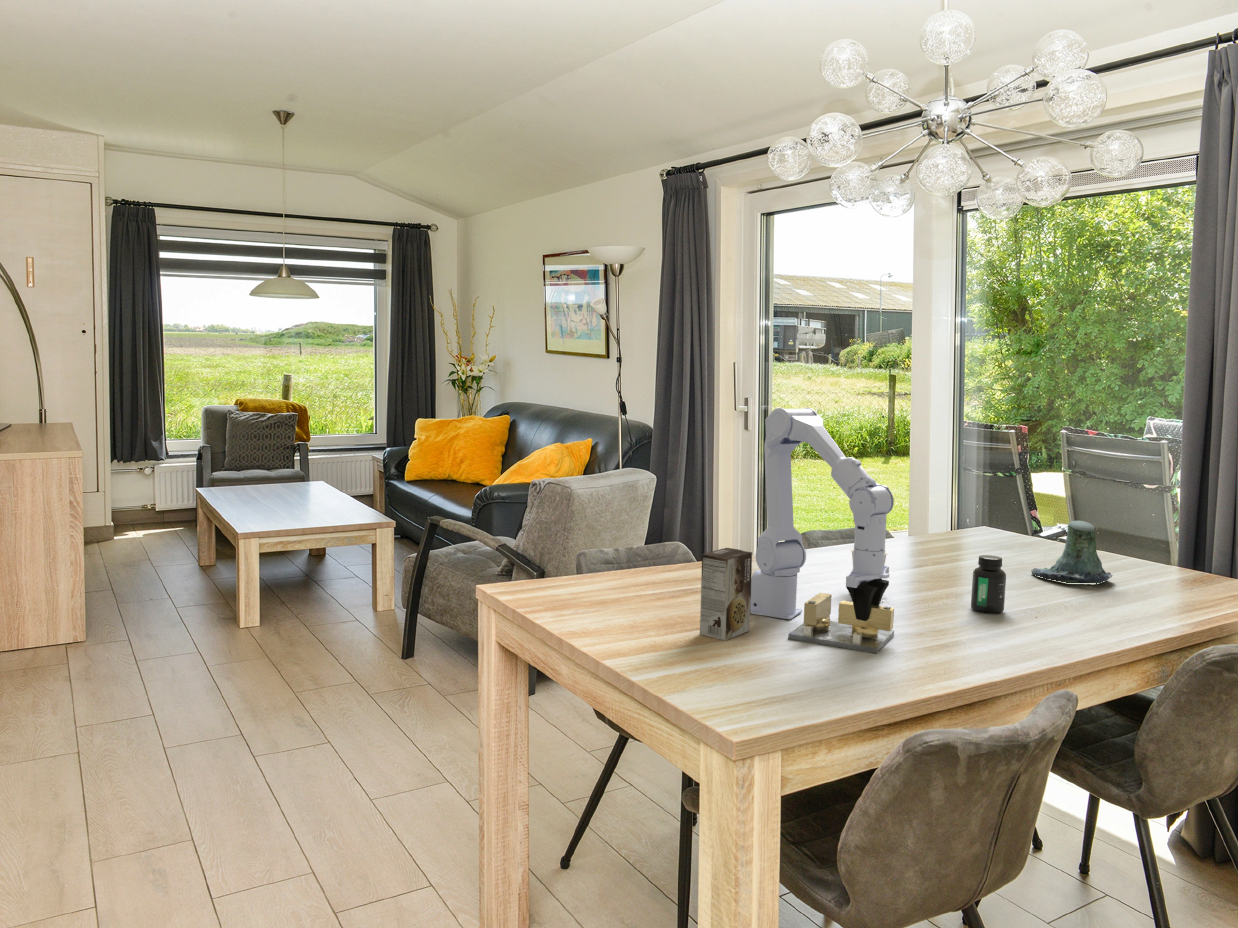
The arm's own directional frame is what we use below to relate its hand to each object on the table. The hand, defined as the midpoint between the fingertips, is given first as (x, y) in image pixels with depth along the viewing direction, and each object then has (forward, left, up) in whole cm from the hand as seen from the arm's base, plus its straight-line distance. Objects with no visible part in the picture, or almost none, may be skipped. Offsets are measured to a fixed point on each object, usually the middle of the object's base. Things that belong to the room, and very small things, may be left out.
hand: (865, 618), depth 180 cm
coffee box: (-25, -10, -5) cm, 27 cm away
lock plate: (-5, 0, -4) cm, 6 cm away
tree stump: (+31, +86, -5) cm, 92 cm away
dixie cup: (-10, +41, -5) cm, 42 cm away
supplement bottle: (+17, +39, -5) cm, 43 cm away
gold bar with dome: (0, 0, -3) cm, 3 cm away
